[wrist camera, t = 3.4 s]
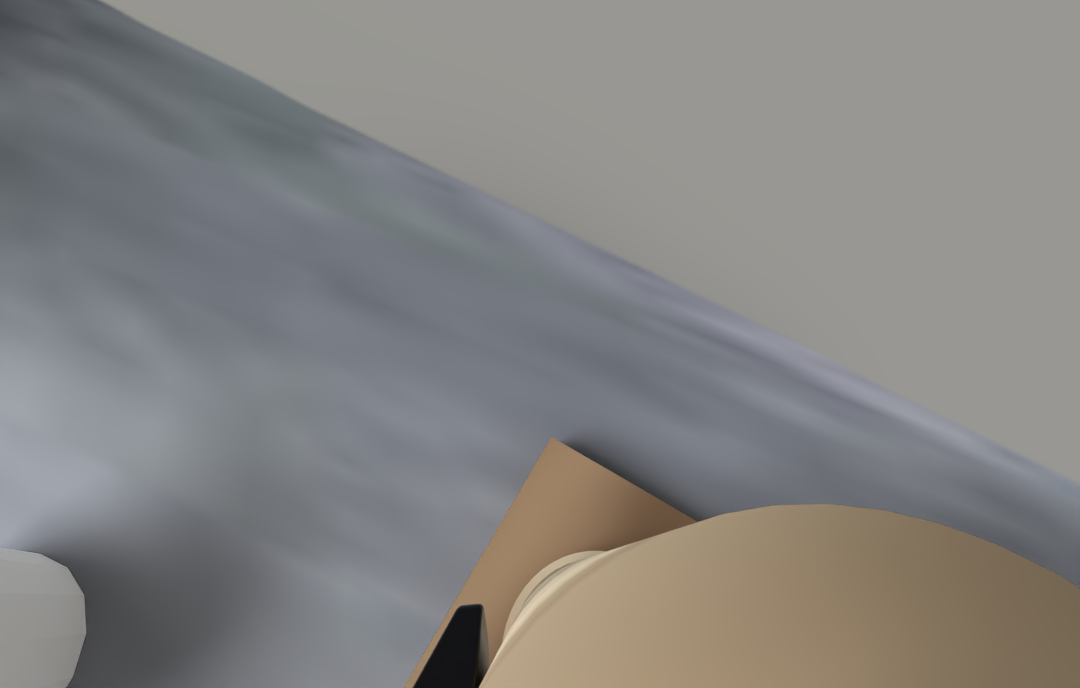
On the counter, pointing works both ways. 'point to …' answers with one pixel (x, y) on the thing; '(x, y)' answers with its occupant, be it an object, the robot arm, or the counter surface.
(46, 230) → the counter surface
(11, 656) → the white cup
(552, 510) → the serving board
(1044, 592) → the pepper mill
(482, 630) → the robot arm
